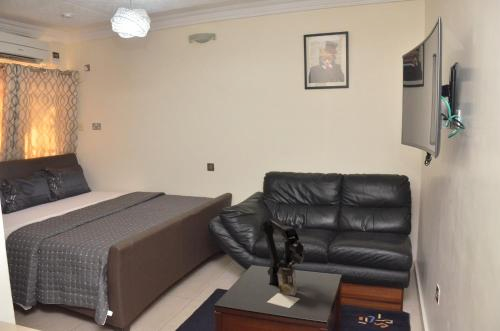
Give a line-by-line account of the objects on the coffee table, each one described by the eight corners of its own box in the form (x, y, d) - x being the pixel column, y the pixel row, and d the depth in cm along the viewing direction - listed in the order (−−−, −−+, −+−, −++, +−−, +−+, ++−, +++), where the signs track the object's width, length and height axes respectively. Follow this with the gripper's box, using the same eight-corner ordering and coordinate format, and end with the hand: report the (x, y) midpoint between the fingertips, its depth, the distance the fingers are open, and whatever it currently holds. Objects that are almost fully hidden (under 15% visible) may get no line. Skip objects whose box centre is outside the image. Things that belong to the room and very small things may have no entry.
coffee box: (297, 288, 234) (295, 267, 227) (294, 296, 229) (292, 275, 222) (282, 286, 237) (279, 265, 230) (279, 294, 232) (277, 273, 225)
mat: (266, 302, 221) (266, 301, 221) (277, 293, 233) (277, 293, 233) (289, 308, 214) (289, 307, 214) (299, 298, 225) (299, 298, 225)
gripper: (295, 255, 219) (295, 282, 221) (308, 246, 235) (308, 271, 237) (277, 252, 225) (277, 278, 226) (291, 244, 241) (291, 268, 242)
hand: (289, 274), depth 233 cm, fingers closed
